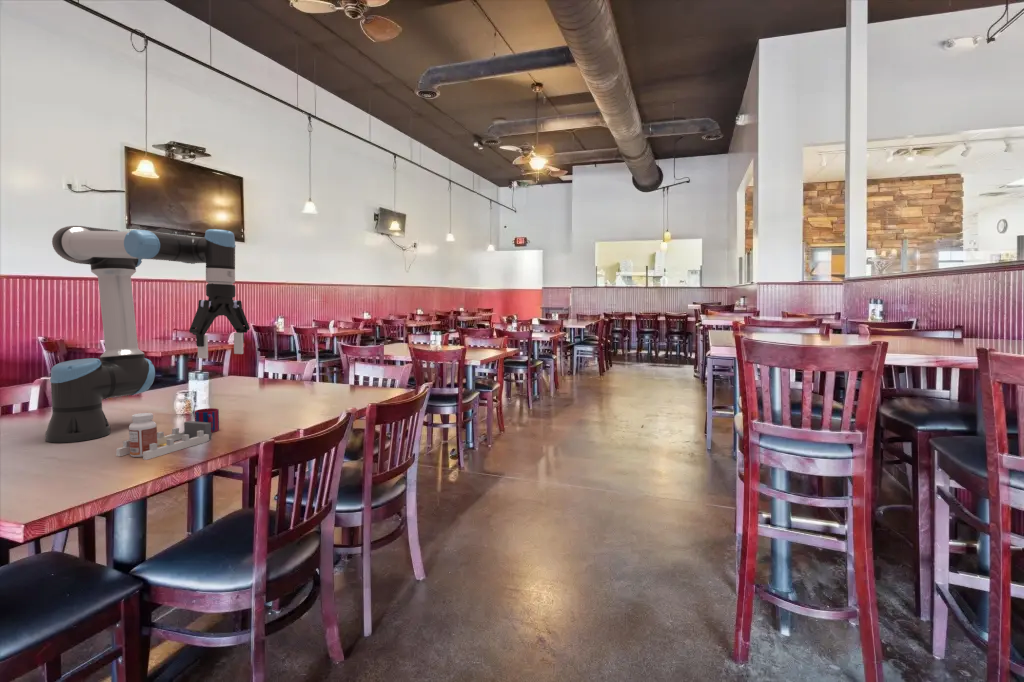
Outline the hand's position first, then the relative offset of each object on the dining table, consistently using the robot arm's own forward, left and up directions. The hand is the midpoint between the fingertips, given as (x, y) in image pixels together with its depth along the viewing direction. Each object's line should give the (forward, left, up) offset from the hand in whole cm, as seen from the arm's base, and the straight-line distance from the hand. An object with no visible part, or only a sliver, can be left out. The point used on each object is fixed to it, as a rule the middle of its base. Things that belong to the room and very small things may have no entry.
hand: (221, 356), depth 152 cm
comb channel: (-11, -10, -26) cm, 30 cm away
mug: (-15, +9, -26) cm, 31 cm away
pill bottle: (-11, -16, -26) cm, 33 cm away
